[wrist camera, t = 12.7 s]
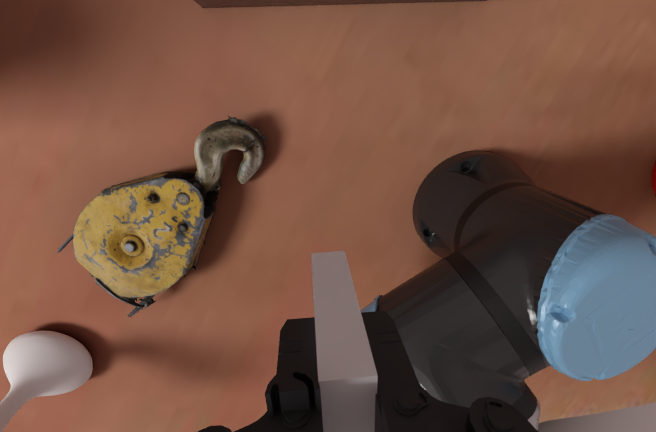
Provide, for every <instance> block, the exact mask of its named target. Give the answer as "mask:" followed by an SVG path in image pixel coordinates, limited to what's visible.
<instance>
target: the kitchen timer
mask: <svg viewBox="0 0 656 432" xmlns="http://www.w3.org/2000/svg"><path fill="white" fill-rule="evenodd" d="M652 188H653V190H654V193H655V195H656V162H655V165H654V169H653V172H652Z"/></svg>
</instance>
